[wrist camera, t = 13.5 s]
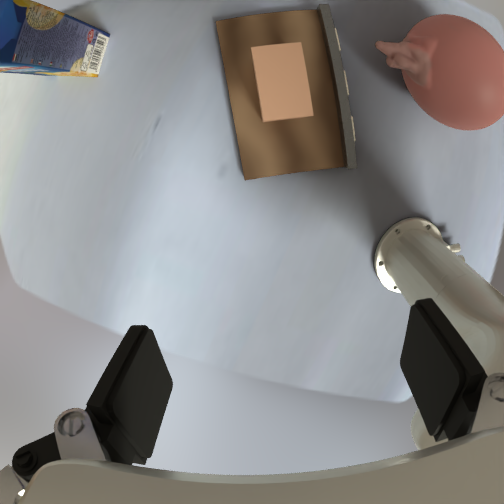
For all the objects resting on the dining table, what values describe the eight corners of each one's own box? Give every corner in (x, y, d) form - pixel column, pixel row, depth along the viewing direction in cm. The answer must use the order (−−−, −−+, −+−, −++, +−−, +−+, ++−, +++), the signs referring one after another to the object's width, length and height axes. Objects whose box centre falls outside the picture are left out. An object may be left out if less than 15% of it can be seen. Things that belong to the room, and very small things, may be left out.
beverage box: (56, 36, 30) (-44, 15, 10) (111, 34, 31) (11, -7, 11) (45, 75, 33) (-61, 73, 12) (98, 77, 34) (-12, 62, 13)
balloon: (351, 9, 29) (393, -37, 15) (466, 48, 29) (530, 36, 15) (348, 108, 35) (397, 102, 21) (464, 136, 35) (532, 151, 21)
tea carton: (302, 117, 35) (314, 115, 27) (262, 122, 35) (263, 121, 28) (293, 58, 32) (301, 42, 24) (252, 62, 32) (251, 47, 25)
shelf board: (314, 13, 30) (316, 9, 28) (341, 165, 38) (343, 166, 37) (217, 24, 31) (215, 21, 30) (245, 178, 40) (244, 180, 38)
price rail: (326, 13, 30) (331, 4, 27) (352, 164, 38) (360, 167, 35) (314, 13, 30) (319, 4, 27) (341, 165, 38) (348, 169, 35)
